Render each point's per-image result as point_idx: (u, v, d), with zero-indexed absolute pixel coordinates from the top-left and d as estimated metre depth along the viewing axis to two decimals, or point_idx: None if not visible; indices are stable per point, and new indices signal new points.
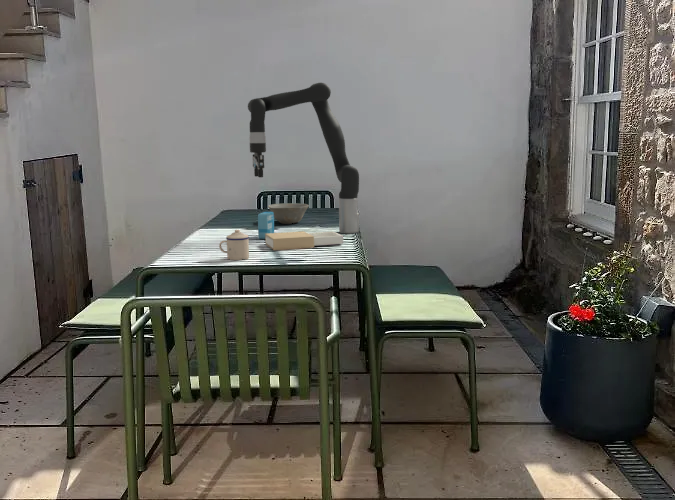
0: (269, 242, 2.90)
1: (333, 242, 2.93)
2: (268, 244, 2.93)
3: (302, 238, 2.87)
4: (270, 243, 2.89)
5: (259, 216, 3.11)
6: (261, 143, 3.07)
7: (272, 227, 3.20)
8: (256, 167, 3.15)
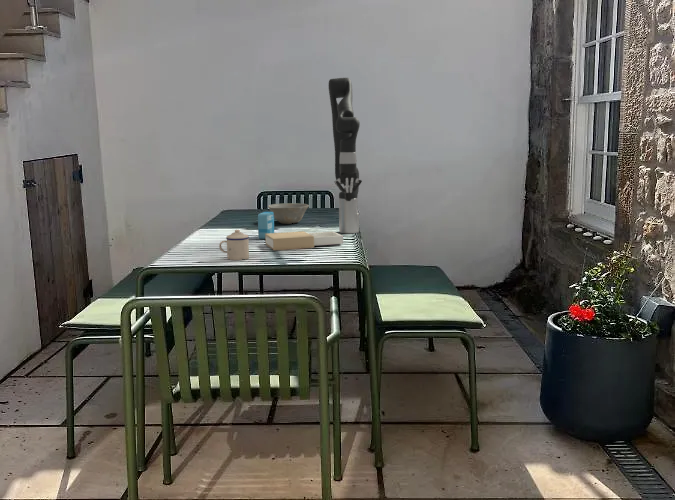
0: (269, 242, 2.90)
1: (333, 242, 2.93)
2: (268, 244, 2.93)
3: (302, 238, 2.87)
4: (270, 243, 2.89)
5: (259, 216, 3.11)
6: None
7: (272, 227, 3.20)
8: None
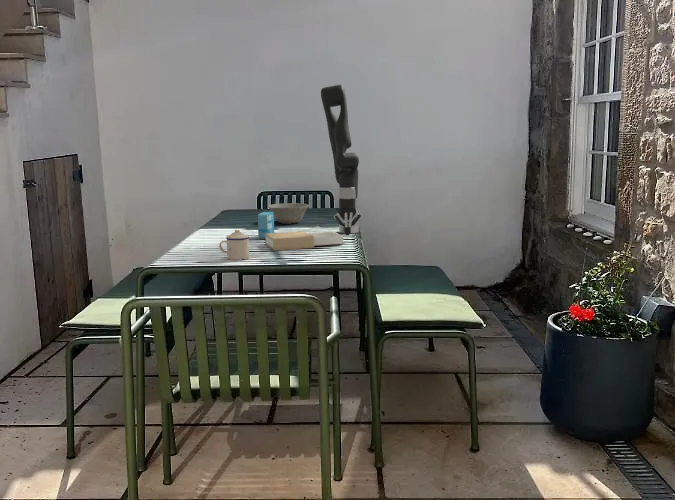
0: (269, 242, 2.90)
1: (333, 242, 2.93)
2: (268, 244, 2.93)
3: (302, 238, 2.87)
4: (270, 243, 2.89)
5: (259, 216, 3.11)
6: None
7: (272, 227, 3.20)
8: None
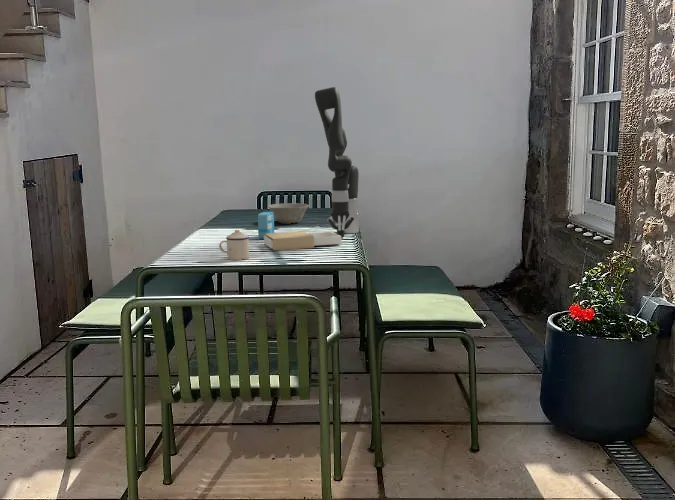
0: (267, 242, 2.90)
1: (331, 242, 2.93)
2: (266, 244, 2.92)
3: (302, 238, 2.87)
4: (268, 243, 2.88)
5: (259, 216, 3.11)
6: None
7: (272, 227, 3.20)
8: None
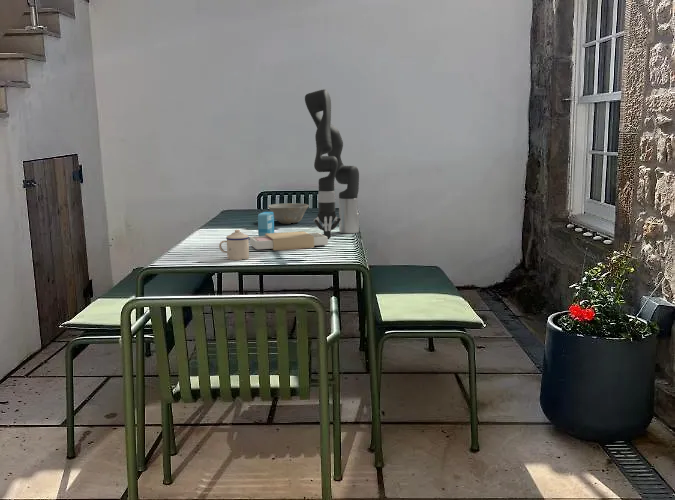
0: (253, 243, 2.88)
1: (317, 243, 2.91)
2: (252, 245, 2.90)
3: (302, 238, 2.87)
4: (254, 244, 2.86)
5: (259, 216, 3.11)
6: None
7: (272, 227, 3.20)
8: None
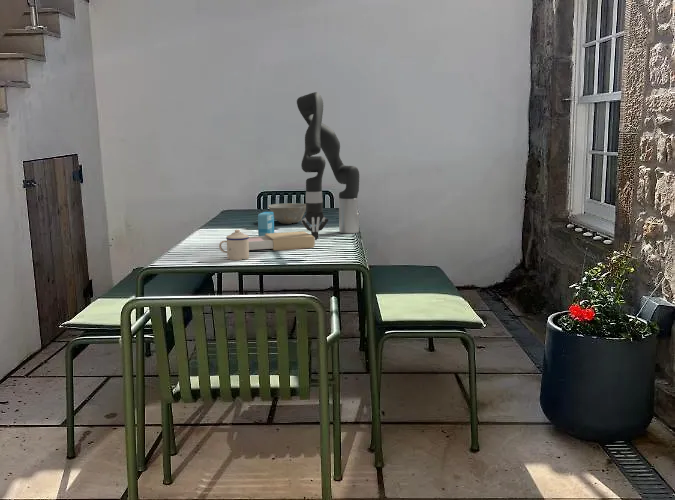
0: None
1: None
2: None
3: (302, 238, 2.87)
4: None
5: (259, 216, 3.11)
6: None
7: (272, 227, 3.20)
8: None
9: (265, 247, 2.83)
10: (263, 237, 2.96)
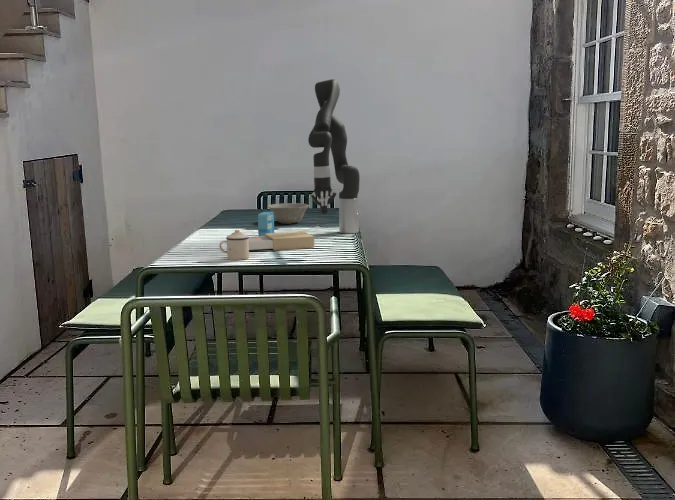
0: None
1: None
2: None
3: (302, 238, 2.87)
4: None
5: (259, 216, 3.11)
6: None
7: (272, 227, 3.20)
8: None
9: (264, 247, 2.83)
10: (262, 237, 2.96)
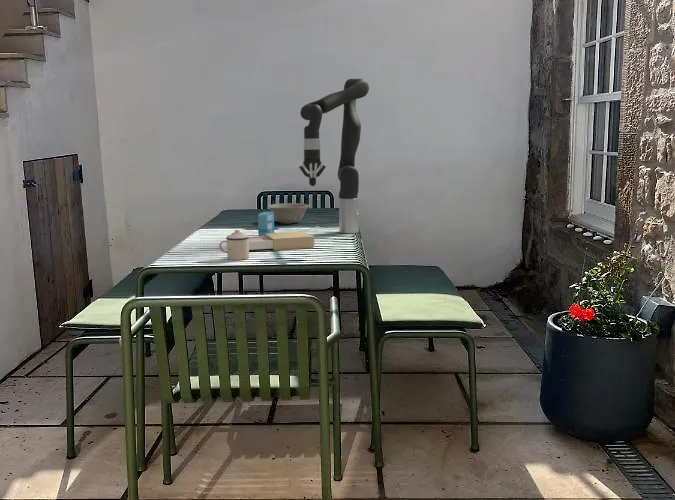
0: None
1: None
2: None
3: (302, 238, 2.87)
4: None
5: (259, 216, 3.11)
6: None
7: (272, 227, 3.20)
8: None
9: (264, 247, 2.83)
10: (262, 237, 2.96)
